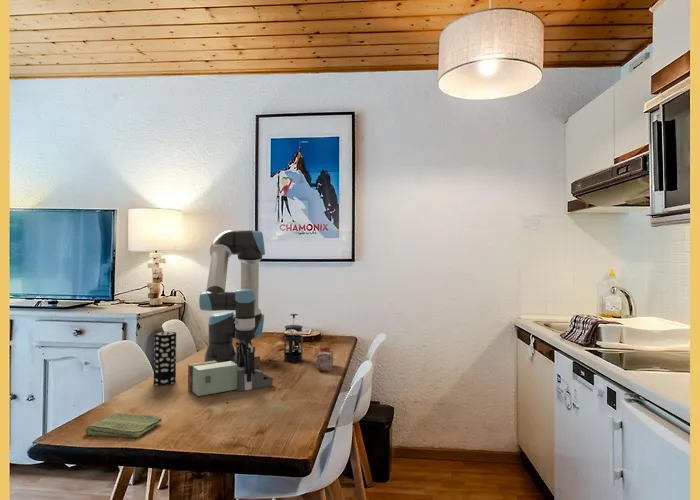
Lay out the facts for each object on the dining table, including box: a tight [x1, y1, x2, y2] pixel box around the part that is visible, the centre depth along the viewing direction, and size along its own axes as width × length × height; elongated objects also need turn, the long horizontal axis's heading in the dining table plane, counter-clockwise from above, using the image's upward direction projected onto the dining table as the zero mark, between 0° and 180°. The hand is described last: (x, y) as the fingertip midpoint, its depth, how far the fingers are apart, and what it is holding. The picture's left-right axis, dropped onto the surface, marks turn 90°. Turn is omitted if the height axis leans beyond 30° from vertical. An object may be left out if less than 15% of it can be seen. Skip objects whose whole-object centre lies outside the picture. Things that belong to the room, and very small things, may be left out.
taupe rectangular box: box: [187, 354, 261, 393], centre depth 180 cm, size 3×28×10 cm, turn 126°
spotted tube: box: [153, 331, 177, 387], centre depth 182 cm, size 8×8×20 cm
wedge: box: [235, 366, 274, 392], centre depth 178 cm, size 5×14×8 cm, turn 124°
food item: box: [315, 346, 334, 372], centre depth 207 cm, size 14×8×10 cm, turn 1°
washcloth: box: [85, 412, 163, 439], centre depth 135 cm, size 13×18×3 cm
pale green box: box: [192, 361, 237, 397], centre depth 172 cm, size 8×15×10 cm, turn 126°
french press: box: [283, 313, 304, 364], centre depth 222 cm, size 12×9×23 cm
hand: (245, 387), depth 176 cm, fingers closed on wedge, 5 cm apart
